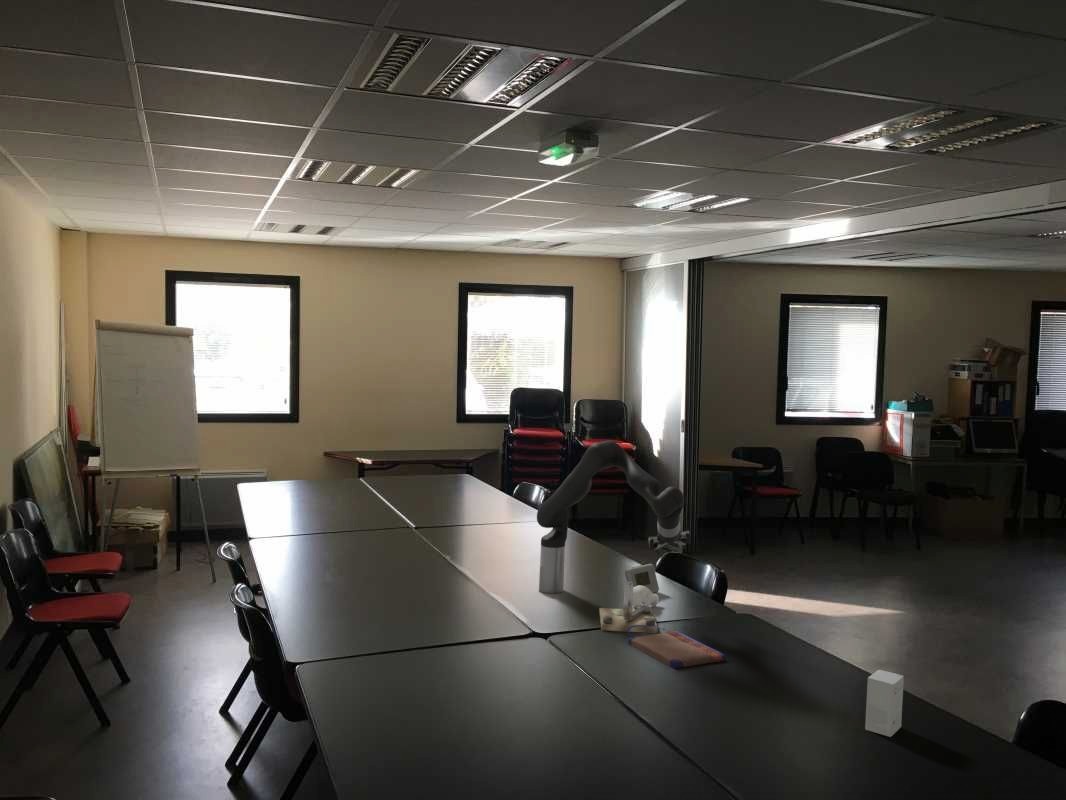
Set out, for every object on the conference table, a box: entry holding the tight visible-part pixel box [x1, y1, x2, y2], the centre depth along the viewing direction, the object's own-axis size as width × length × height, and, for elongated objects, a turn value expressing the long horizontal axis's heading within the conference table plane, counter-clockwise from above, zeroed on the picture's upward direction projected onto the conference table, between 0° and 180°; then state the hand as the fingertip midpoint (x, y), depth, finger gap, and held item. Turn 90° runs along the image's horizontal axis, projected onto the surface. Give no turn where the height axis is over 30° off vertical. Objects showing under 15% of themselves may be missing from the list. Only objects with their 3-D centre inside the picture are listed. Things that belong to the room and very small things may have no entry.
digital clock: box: [624, 563, 660, 594], centre depth 322 cm, size 16×9×11 cm, turn 123°
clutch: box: [626, 625, 727, 669], centre depth 261 cm, size 28×5×20 cm
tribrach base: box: [598, 607, 658, 634], centre depth 286 cm, size 18×18×4 cm
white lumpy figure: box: [632, 585, 660, 609], centre depth 305 cm, size 6×8×12 cm
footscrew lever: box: [622, 581, 652, 621], centre depth 286 cm, size 17×5×12 cm, turn 148°
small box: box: [864, 669, 905, 738], centre depth 209 cm, size 8×6×13 cm
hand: (669, 549), depth 295 cm, fingers open, 8 cm apart
